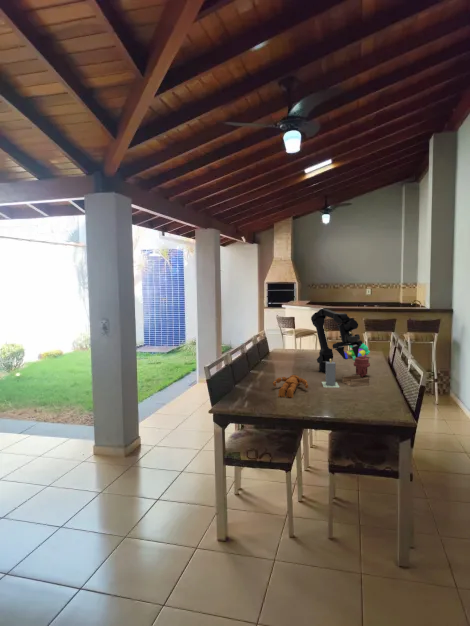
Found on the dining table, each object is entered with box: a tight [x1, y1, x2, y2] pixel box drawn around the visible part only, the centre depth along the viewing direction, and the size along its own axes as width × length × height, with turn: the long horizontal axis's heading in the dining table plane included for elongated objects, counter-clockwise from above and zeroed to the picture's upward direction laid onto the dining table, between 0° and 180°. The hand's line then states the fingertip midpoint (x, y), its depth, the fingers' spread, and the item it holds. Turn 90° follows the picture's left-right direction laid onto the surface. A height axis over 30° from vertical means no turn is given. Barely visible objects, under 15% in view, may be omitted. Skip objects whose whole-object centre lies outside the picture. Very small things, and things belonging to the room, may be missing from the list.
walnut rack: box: [341, 374, 370, 388], centre depth 244 cm, size 9×12×4 cm
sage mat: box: [321, 381, 340, 388], centre depth 242 cm, size 12×9×1 cm
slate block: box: [325, 359, 336, 386], centre depth 241 cm, size 5×5×15 cm
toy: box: [272, 374, 309, 399], centre depth 233 cm, size 20×7×30 cm
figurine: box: [344, 342, 371, 361], centre depth 318 cm, size 18×14×20 cm
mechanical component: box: [353, 356, 371, 378], centre depth 262 cm, size 12×10×10 cm
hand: (350, 358), depth 250 cm, fingers open, 9 cm apart
